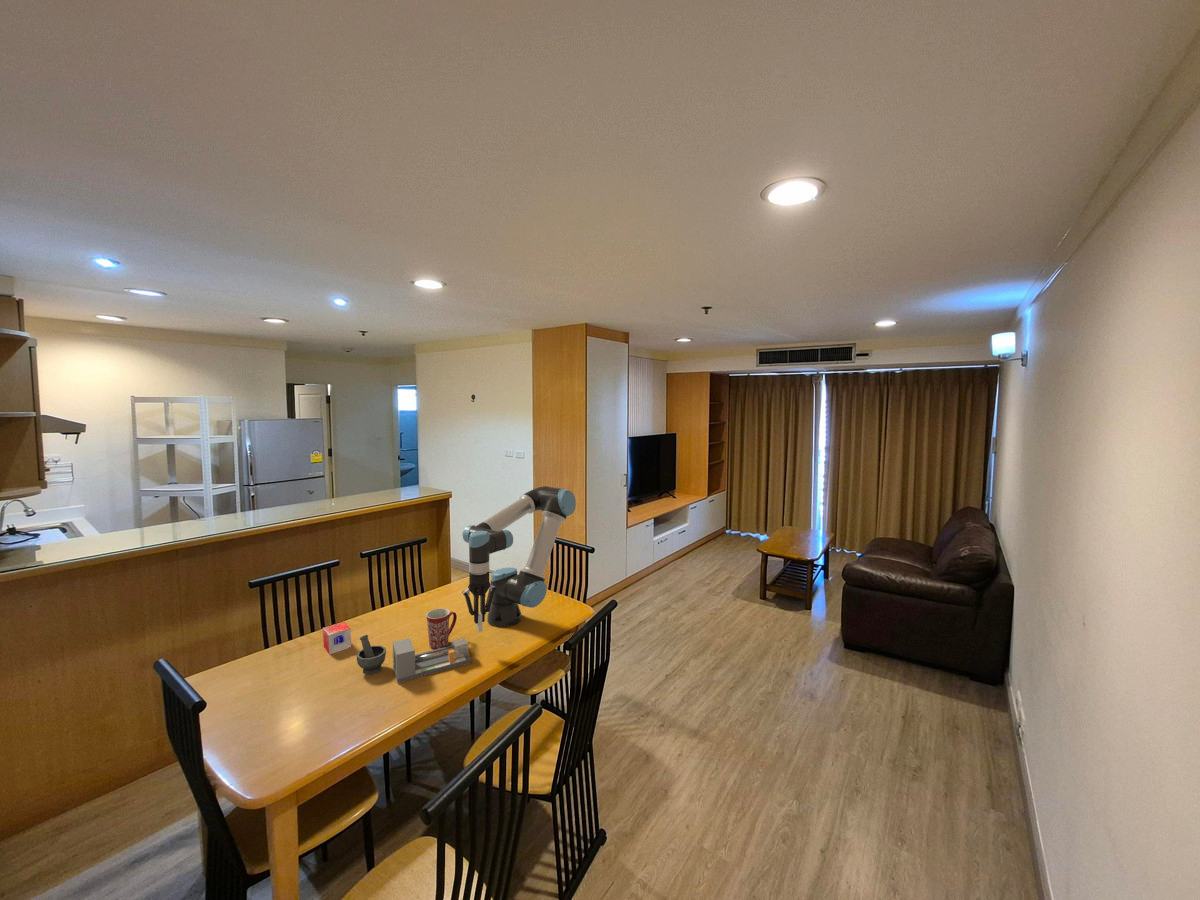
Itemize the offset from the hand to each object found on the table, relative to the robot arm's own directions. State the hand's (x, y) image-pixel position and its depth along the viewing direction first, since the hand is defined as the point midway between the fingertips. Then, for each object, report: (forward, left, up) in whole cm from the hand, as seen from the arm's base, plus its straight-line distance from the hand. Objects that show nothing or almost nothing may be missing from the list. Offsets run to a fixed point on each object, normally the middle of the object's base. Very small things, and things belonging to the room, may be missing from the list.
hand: (479, 630), depth 183 cm
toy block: (+48, -33, -10) cm, 59 cm away
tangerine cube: (+12, +4, -8) cm, 14 cm away
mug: (+11, -15, -10) cm, 21 cm away
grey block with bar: (+15, +1, -8) cm, 17 cm away
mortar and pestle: (+38, -9, -10) cm, 40 cm away
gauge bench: (+18, 0, -10) cm, 20 cm away
